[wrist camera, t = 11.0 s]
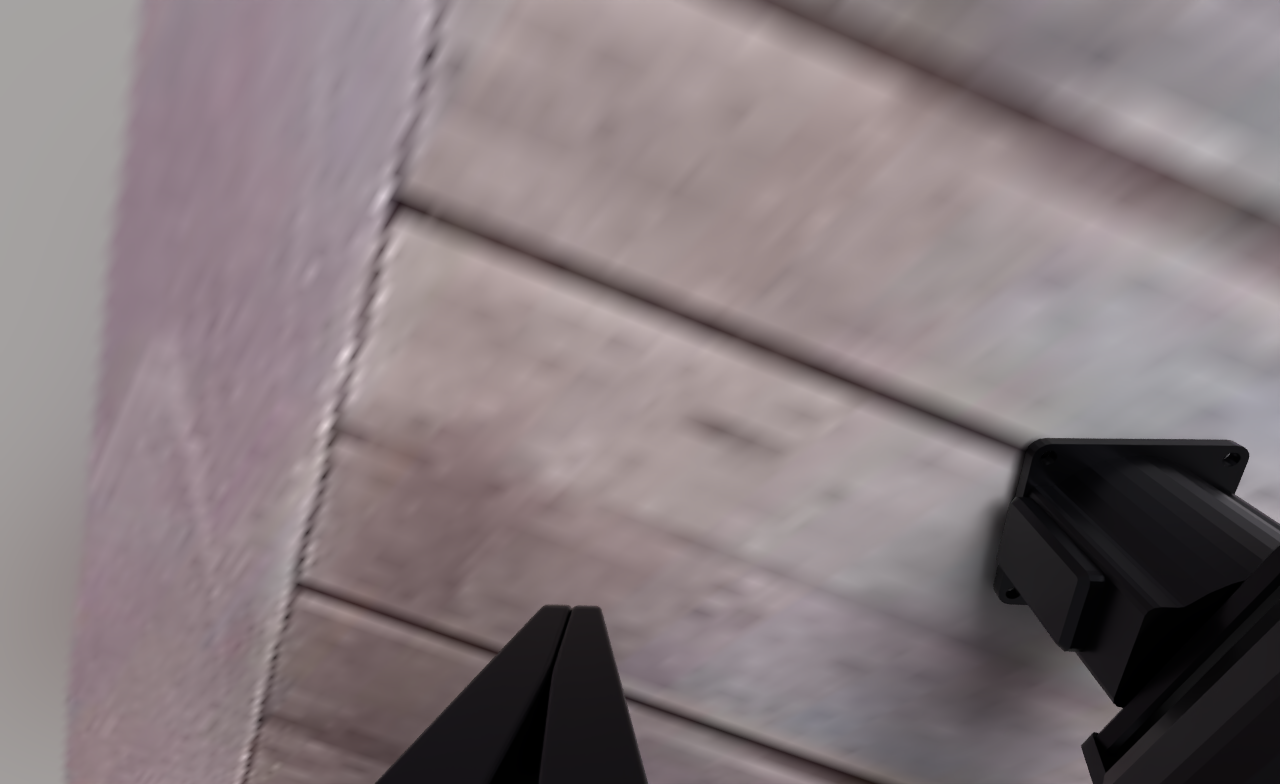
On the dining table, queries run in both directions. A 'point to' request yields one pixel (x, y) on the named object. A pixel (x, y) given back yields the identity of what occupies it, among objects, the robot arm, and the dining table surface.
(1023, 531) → the robot arm
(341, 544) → the dining table surface
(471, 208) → the dining table surface
